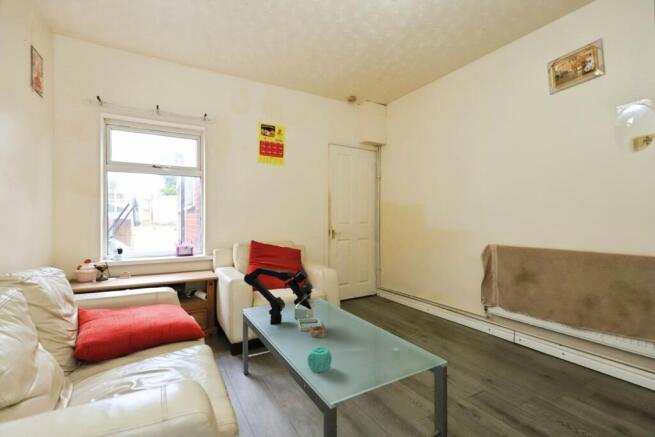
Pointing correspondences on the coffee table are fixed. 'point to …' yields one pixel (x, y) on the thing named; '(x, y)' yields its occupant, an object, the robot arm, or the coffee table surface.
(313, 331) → the tan square frame block
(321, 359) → the decorative dice
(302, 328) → the parts tray
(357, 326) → the coffee table surface
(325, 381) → the coffee table surface
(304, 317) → the right angle wall
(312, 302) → the ball
